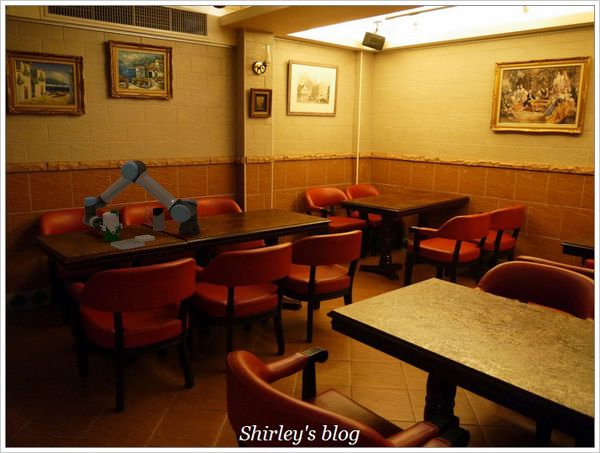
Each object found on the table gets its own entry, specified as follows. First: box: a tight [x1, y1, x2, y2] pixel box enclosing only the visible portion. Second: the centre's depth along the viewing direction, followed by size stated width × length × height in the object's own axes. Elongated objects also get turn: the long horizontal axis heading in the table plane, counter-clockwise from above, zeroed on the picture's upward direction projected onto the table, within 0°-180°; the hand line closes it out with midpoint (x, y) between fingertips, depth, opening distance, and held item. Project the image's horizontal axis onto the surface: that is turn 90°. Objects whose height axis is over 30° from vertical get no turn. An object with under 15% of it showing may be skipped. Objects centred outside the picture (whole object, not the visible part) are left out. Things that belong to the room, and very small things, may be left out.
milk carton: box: [102, 209, 120, 243], centre depth 325 cm, size 9×9×20 cm
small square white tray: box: [134, 234, 156, 243], centre depth 330 cm, size 9×9×2 cm
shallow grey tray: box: [110, 238, 146, 251], centre depth 315 cm, size 15×15×2 cm
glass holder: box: [145, 207, 166, 232], centre depth 362 cm, size 9×14×15 cm, turn 78°
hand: (113, 227), depth 323 cm, fingers open, 10 cm apart
